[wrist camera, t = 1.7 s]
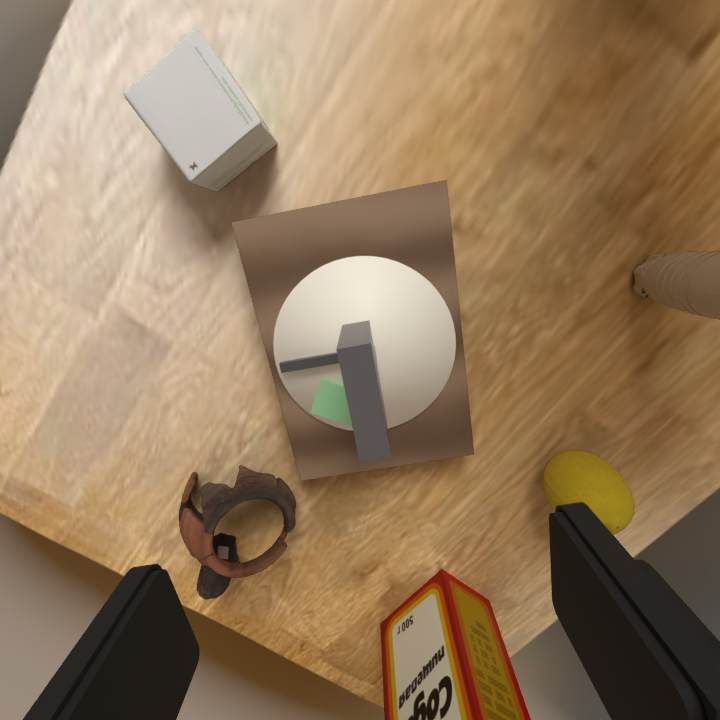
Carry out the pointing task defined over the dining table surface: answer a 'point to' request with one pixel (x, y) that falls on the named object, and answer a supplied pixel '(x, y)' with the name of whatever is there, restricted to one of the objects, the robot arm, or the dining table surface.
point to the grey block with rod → (357, 387)
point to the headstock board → (349, 239)
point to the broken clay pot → (221, 548)
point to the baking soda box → (447, 658)
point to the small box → (200, 114)
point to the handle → (682, 281)
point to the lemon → (589, 487)
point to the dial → (389, 333)
